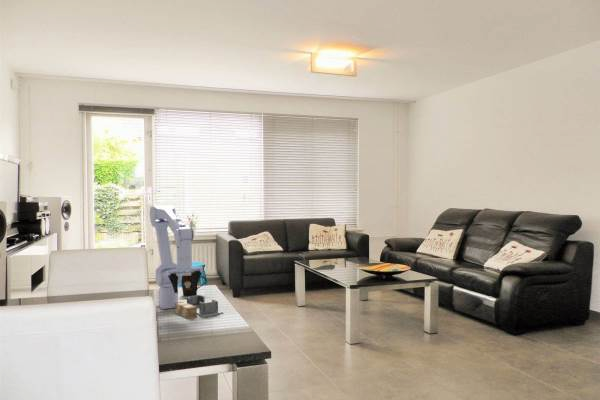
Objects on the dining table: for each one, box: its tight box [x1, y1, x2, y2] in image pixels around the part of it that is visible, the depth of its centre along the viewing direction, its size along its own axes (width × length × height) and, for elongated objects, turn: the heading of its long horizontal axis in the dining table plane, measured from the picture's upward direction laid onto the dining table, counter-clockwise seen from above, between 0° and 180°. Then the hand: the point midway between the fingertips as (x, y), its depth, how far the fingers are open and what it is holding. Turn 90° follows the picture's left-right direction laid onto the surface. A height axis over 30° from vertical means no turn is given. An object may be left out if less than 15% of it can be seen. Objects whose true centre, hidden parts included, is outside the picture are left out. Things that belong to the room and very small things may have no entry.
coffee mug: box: [180, 273, 207, 297], centre depth 225 cm, size 12×9×10 cm
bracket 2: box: [199, 299, 219, 315], centre depth 184 cm, size 4×6×4 cm, turn 126°
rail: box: [174, 301, 198, 319], centre depth 185 cm, size 14×4×4 cm, turn 36°
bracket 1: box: [186, 294, 206, 308], centre depth 194 cm, size 4×6×4 cm, turn 126°
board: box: [197, 308, 224, 318], centre depth 189 cm, size 19×8×1 cm, turn 36°
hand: (185, 291), depth 185 cm, fingers open, 7 cm apart
